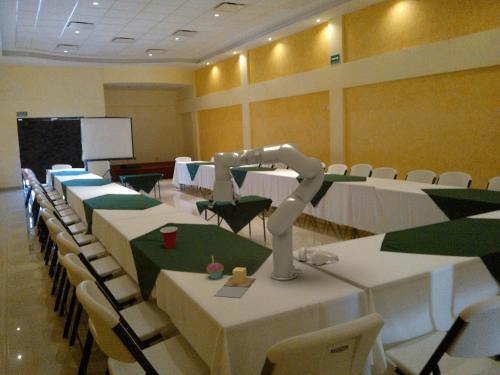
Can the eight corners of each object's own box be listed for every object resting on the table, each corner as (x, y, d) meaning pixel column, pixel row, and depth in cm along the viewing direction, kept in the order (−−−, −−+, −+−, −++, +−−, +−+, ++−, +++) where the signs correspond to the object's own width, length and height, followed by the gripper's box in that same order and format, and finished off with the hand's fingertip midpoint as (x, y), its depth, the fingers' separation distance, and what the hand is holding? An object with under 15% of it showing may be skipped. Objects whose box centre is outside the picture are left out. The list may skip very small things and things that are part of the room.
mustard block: (246, 280, 196) (246, 267, 195) (243, 284, 191) (242, 271, 190) (236, 279, 197) (235, 267, 196) (233, 283, 192) (232, 270, 192)
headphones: (320, 253, 208) (344, 250, 222) (292, 246, 222) (317, 244, 235) (318, 267, 209) (343, 263, 222) (291, 259, 222) (316, 257, 236)
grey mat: (248, 288, 186) (248, 287, 186) (240, 298, 176) (240, 297, 176) (222, 286, 190) (222, 286, 190) (213, 296, 179) (213, 295, 179)
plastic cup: (158, 249, 256) (156, 230, 254) (166, 244, 266) (165, 226, 264) (174, 250, 252) (172, 231, 251) (182, 245, 263) (180, 226, 261)
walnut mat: (255, 279, 197) (255, 278, 197) (248, 287, 187) (248, 287, 187) (231, 277, 201) (231, 276, 201) (223, 285, 191) (223, 285, 191)
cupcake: (219, 281, 197) (218, 256, 195) (203, 279, 200) (201, 255, 198) (227, 275, 205) (225, 251, 203) (211, 273, 208) (210, 250, 206)
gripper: (242, 176, 202) (244, 211, 205) (209, 177, 208) (211, 211, 210) (237, 178, 195) (239, 214, 198) (203, 179, 200) (205, 214, 203)
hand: (224, 212), depth 204 cm, fingers open, 9 cm apart
